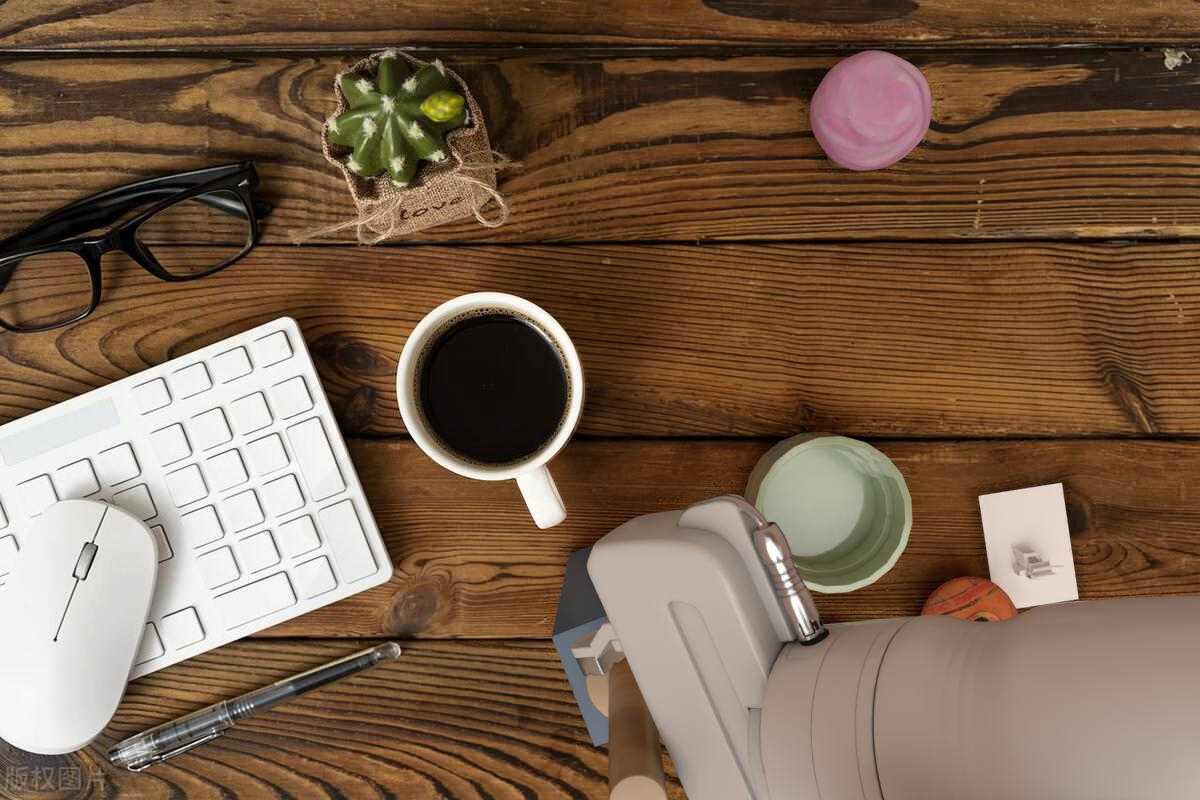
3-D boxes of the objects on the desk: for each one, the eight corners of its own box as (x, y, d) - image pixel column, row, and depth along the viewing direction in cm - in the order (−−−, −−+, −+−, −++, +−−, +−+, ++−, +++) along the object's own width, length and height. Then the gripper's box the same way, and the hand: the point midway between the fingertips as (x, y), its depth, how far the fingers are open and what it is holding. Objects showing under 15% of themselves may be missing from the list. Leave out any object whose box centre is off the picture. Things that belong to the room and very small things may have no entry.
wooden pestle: (684, 695, 50) (718, 839, 34) (604, 725, 50) (602, 883, 34) (653, 615, 50) (674, 724, 34) (573, 646, 50) (557, 768, 34)
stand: (675, 600, 73) (706, 704, 50) (598, 630, 73) (594, 747, 50) (645, 524, 73) (663, 593, 50) (569, 554, 73) (551, 636, 50)
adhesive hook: (1012, 578, 72) (1031, 587, 69) (1008, 548, 72) (1026, 556, 69) (1048, 572, 72) (1068, 581, 69) (1044, 542, 72) (1063, 550, 69)
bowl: (908, 544, 72) (935, 559, 66) (773, 596, 73) (788, 615, 67) (856, 410, 72) (879, 413, 66) (721, 462, 72) (732, 470, 66)
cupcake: (823, 205, 72) (857, 178, 62) (775, 113, 72) (802, 70, 62) (918, 155, 72) (968, 120, 62) (870, 63, 71) (913, 12, 61)
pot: (914, 555, 72) (966, 576, 66) (990, 576, 74) (1048, 599, 67) (887, 646, 72) (936, 676, 66) (964, 665, 74) (1019, 696, 67)
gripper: (710, 520, 29) (486, 570, 39) (949, 1066, 29) (667, 977, 39) (802, 455, 33) (579, 515, 43) (1009, 931, 34) (741, 881, 44)
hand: (622, 738), depth 41 cm, fingers open, 8 cm apart
